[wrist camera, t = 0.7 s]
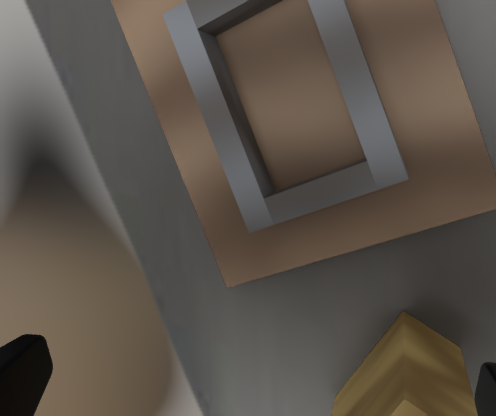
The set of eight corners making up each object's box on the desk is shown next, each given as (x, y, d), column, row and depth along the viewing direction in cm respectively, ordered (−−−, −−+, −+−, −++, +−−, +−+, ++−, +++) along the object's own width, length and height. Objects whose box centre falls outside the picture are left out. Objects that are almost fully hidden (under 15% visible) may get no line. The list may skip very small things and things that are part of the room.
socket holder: (501, 201, 19) (519, 216, 16) (233, 280, 24) (211, 303, 21) (351, -228, 17) (342, -292, 15) (99, -52, 22) (56, -75, 19)
